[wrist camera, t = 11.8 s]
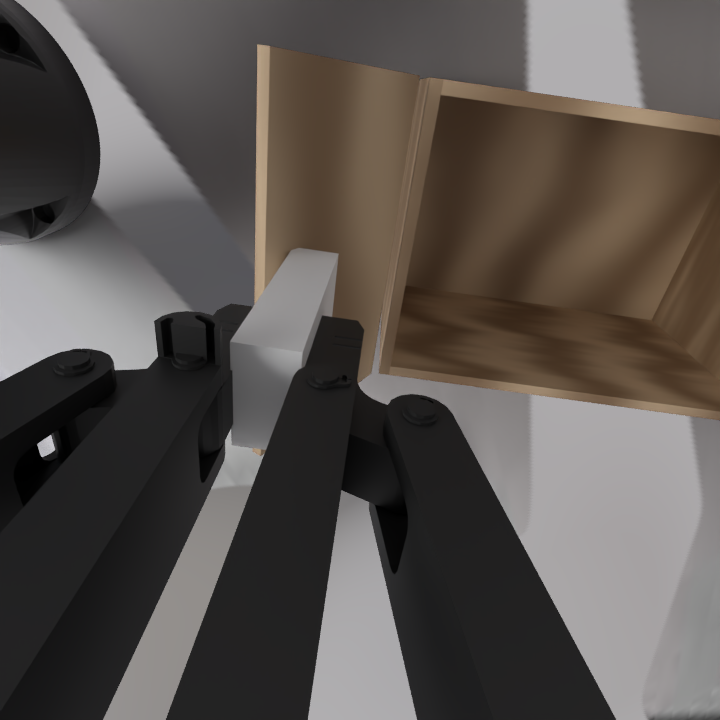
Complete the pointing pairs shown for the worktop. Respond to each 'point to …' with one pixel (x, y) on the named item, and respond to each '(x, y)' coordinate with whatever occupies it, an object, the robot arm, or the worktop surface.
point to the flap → (331, 173)
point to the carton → (557, 250)
